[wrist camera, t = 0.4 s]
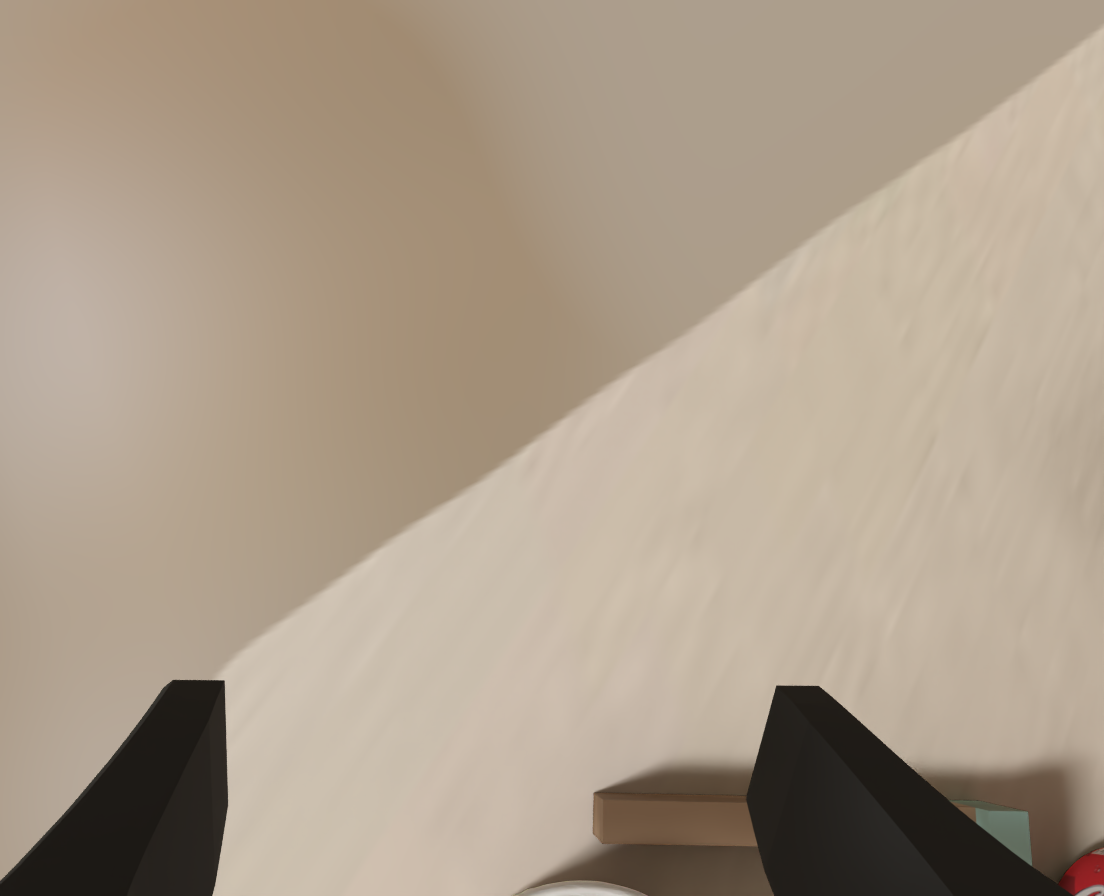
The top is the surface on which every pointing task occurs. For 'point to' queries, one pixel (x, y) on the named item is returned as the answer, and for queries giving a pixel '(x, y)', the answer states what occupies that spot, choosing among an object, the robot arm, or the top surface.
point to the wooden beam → (748, 821)
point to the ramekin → (580, 889)
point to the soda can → (1086, 875)
